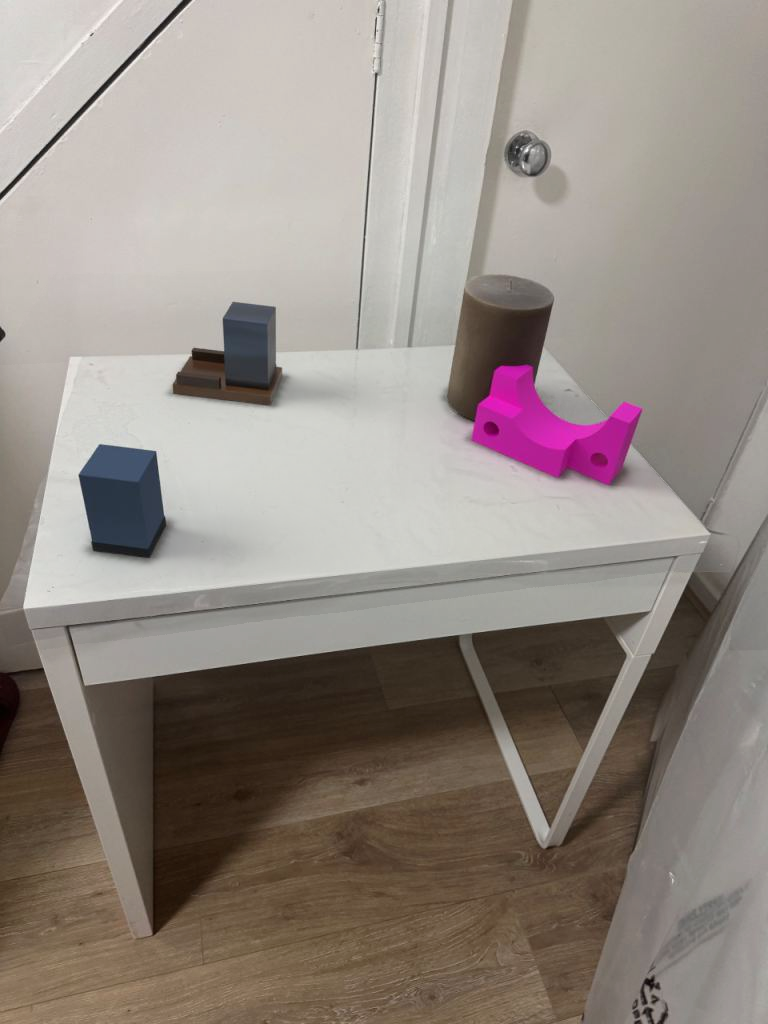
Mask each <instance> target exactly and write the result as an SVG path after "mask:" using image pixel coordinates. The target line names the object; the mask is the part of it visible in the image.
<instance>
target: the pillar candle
mask: <svg viewBox="0 0 768 1024" xmlns="http://www.w3.org/2000/svg"><path fill="white" fill-rule="evenodd" d="M469 278H470V279H468V280H467V281H466V282H465V285H464V288H463V294H462V301H461V307H460V312H459V320H458V325H457V333H456V338H455V344H454V350H453V356H452V362H451V368H450V374H449V379H448V387H447V394H446V395H447V396H446V398H447V402H448V403H449V405H450V406H451V408H453V409H454V410H455V412H457V413H458V414H459V415H461V416H463V417H465V418H467V419H470V420H471V421H475V418H476V413H477V408H478V404H479V403H481V402H482V401H483V400H485V399H486V398H487V397H488V396H490V391H491V386H492V381H493V375H494V371H495V370H496V369H497V368H499V367H500V366H522V365H529V366H532V367H533V381H534V385H535V384H536V380H537V375H538V372H539V367H540V363H541V358H542V354H543V349H544V345H545V342H546V337H547V332H548V328H549V323H550V319H551V314H552V310H553V305H554V302H555V296H554V293H553V292H552V291H551V290H550V289H549V288H548V287H547V286H545V285H543V284H542V283H541V282H538V281H535V280H533V279H530V278H525V277H524V278H523V277H519V276H516V275H510V274H493V273H492V274H484V275H483V274H482V275H474V276H471V277H469Z"/></svg>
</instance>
